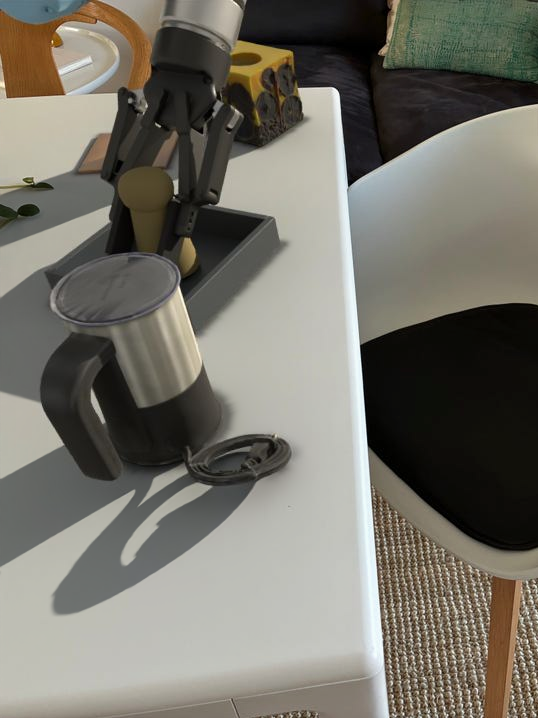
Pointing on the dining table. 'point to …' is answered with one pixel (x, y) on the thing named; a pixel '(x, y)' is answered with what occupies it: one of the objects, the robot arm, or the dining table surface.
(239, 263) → the tray
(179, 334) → the milk frother
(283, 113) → the candle
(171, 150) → the coaster
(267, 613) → the dining table surface
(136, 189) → the pepper shaker
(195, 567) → the dining table surface
